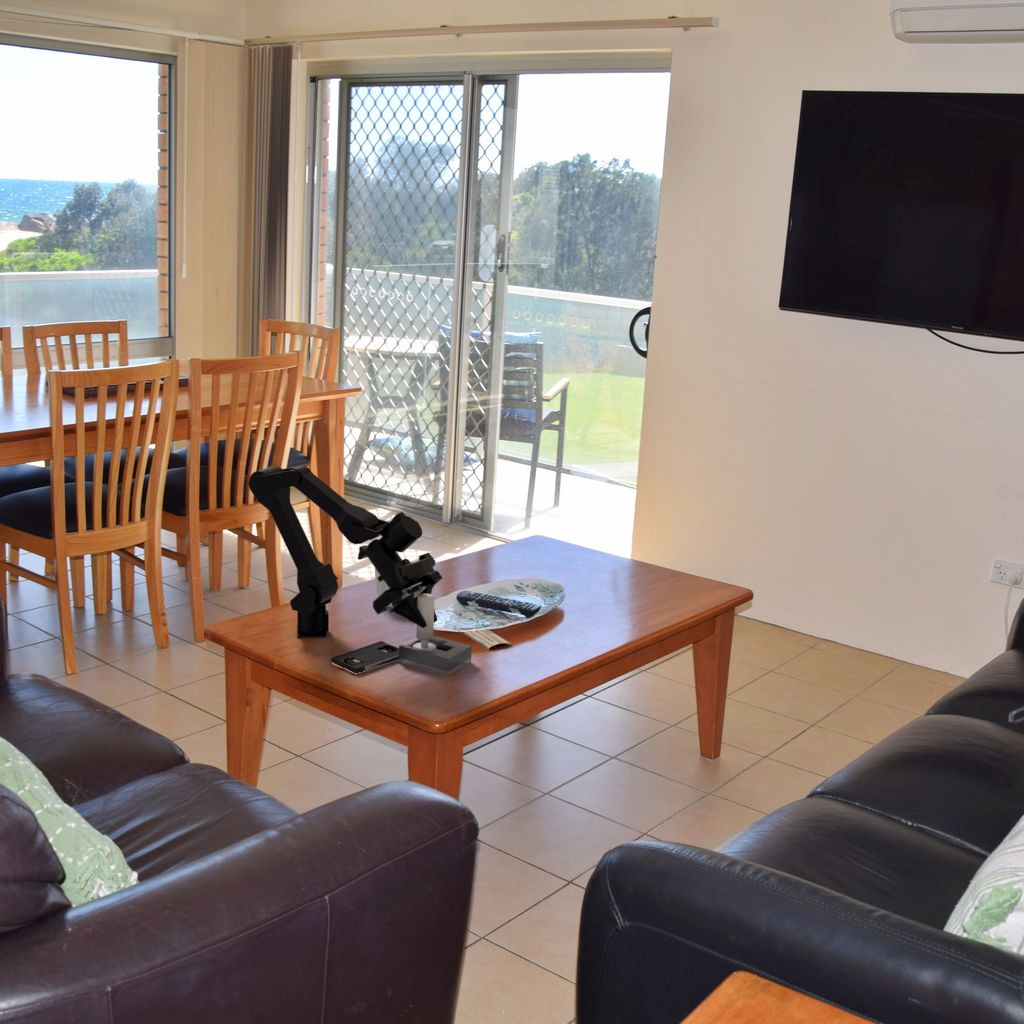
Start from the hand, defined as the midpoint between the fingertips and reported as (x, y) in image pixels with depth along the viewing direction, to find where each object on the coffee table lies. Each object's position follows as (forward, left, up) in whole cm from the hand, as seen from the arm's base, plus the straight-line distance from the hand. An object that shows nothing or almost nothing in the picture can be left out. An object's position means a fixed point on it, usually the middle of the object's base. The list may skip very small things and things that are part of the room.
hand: (430, 624), depth 251 cm
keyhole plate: (+1, -1, -8) cm, 8 cm away
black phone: (-13, +1, -9) cm, 16 cm away
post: (-1, +1, -7) cm, 7 cm away
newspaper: (+12, +18, -9) cm, 23 cm away
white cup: (-6, +37, -9) cm, 39 cm away
